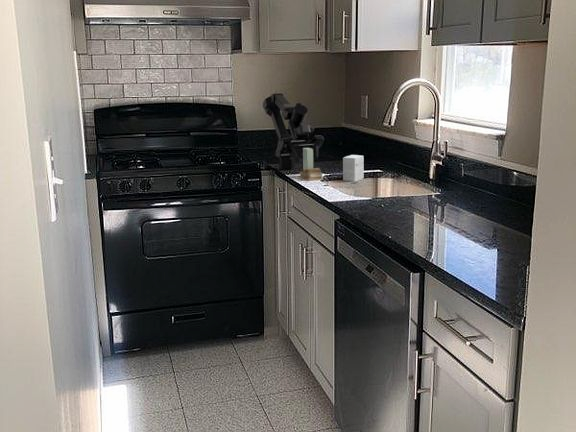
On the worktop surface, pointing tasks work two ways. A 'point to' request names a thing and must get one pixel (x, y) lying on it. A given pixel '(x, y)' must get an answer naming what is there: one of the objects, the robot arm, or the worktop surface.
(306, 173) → the pine rack
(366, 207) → the worktop surface
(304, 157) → the sage panel
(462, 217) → the worktop surface
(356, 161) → the small box
